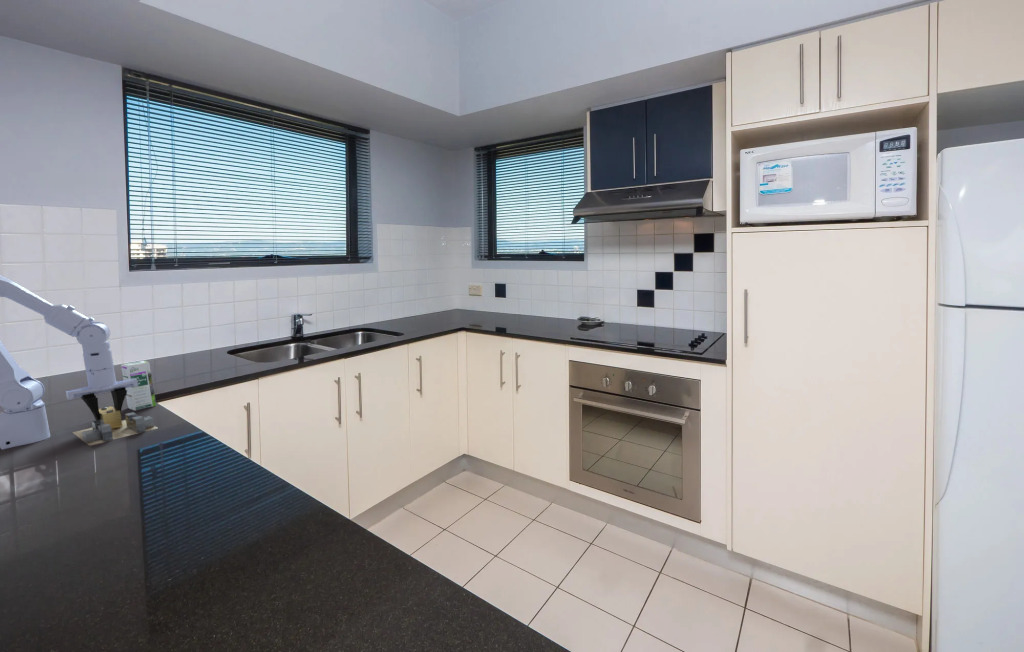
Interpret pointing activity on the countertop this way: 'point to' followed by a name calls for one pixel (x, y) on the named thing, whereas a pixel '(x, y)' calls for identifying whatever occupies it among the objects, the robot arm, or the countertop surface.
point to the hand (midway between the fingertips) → (108, 418)
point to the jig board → (113, 433)
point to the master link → (111, 416)
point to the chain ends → (105, 432)
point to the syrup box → (139, 385)
